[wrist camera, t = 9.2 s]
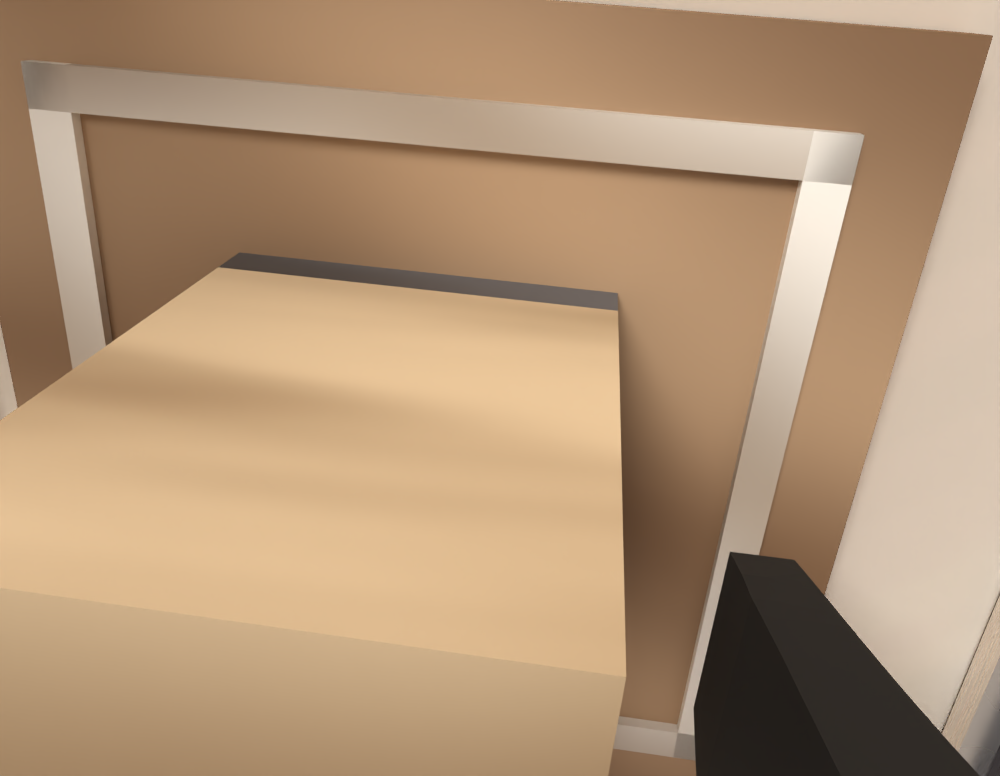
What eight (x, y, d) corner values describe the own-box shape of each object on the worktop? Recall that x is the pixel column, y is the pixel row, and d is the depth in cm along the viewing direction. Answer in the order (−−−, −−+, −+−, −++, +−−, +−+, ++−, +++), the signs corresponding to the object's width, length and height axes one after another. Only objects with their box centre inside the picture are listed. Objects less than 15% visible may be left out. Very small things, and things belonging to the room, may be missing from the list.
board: (754, 776, 13) (761, 818, 13) (99, 679, 14) (73, 714, 14) (969, 33, 9) (1000, 36, 8) (-36, -46, 9) (-88, -49, 9)
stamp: (574, 600, 12) (543, 1130, 6) (260, 557, 12) (-30, 1025, 7) (617, 293, 10) (626, 676, 4) (239, 252, 10) (-197, 559, 5)
